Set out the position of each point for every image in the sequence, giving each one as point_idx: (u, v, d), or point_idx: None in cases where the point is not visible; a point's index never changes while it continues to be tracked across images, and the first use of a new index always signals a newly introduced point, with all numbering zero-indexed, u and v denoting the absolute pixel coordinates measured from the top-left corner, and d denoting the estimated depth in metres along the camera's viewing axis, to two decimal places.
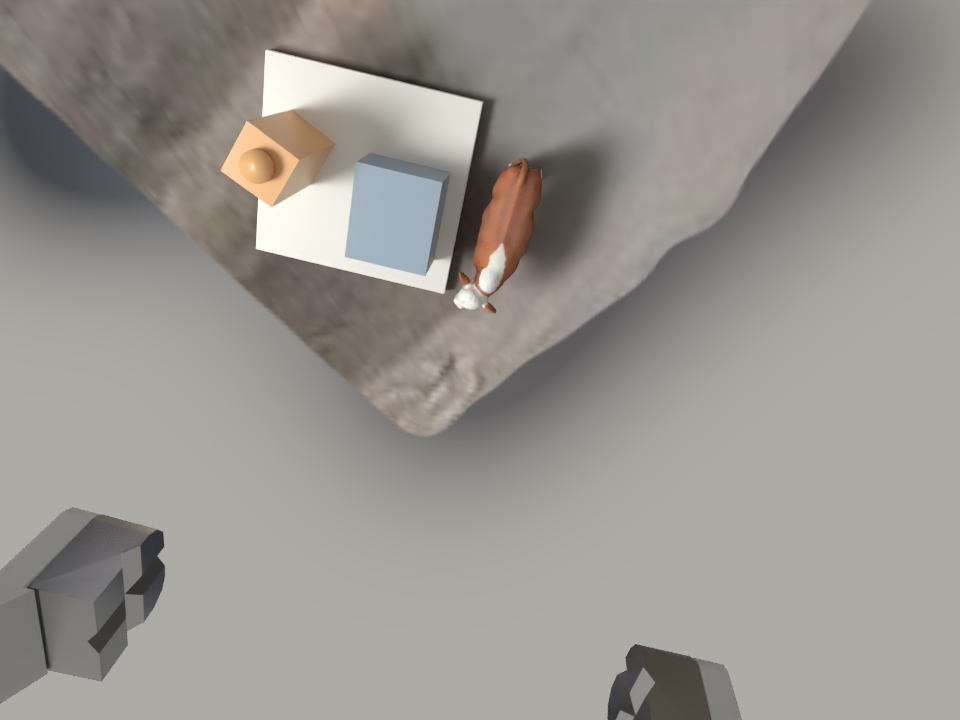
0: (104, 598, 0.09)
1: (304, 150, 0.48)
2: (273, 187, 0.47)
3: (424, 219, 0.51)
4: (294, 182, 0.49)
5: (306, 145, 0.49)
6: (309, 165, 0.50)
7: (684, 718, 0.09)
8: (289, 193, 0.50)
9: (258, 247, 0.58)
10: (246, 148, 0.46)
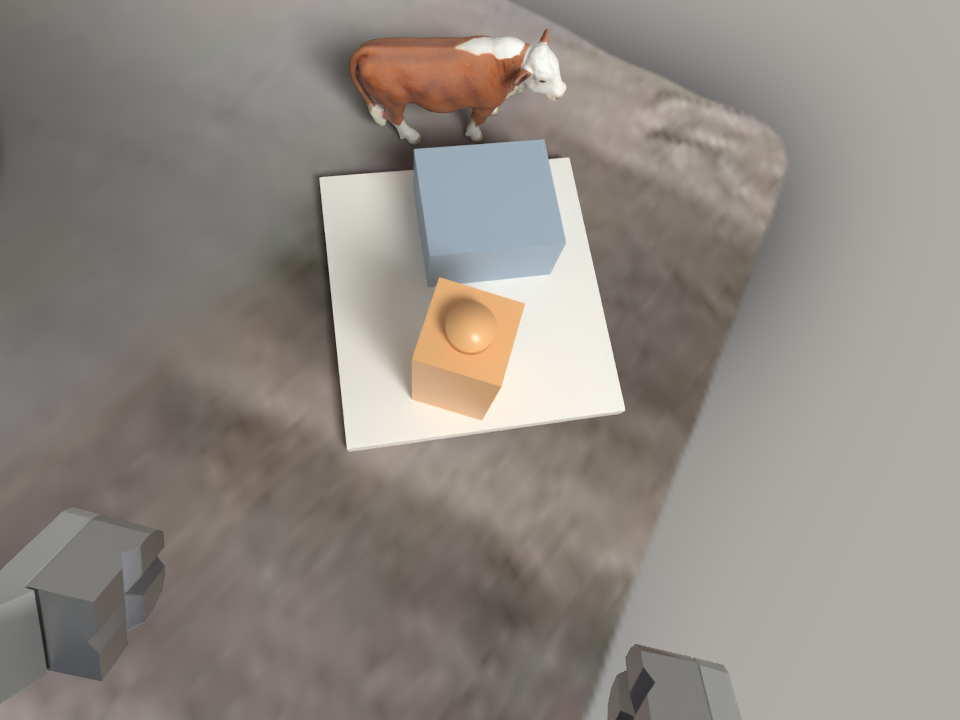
0: (104, 598, 0.09)
1: None
2: (494, 305, 0.31)
3: (469, 157, 0.37)
4: None
5: None
6: None
7: (684, 718, 0.09)
8: None
9: (621, 407, 0.39)
10: (452, 353, 0.30)
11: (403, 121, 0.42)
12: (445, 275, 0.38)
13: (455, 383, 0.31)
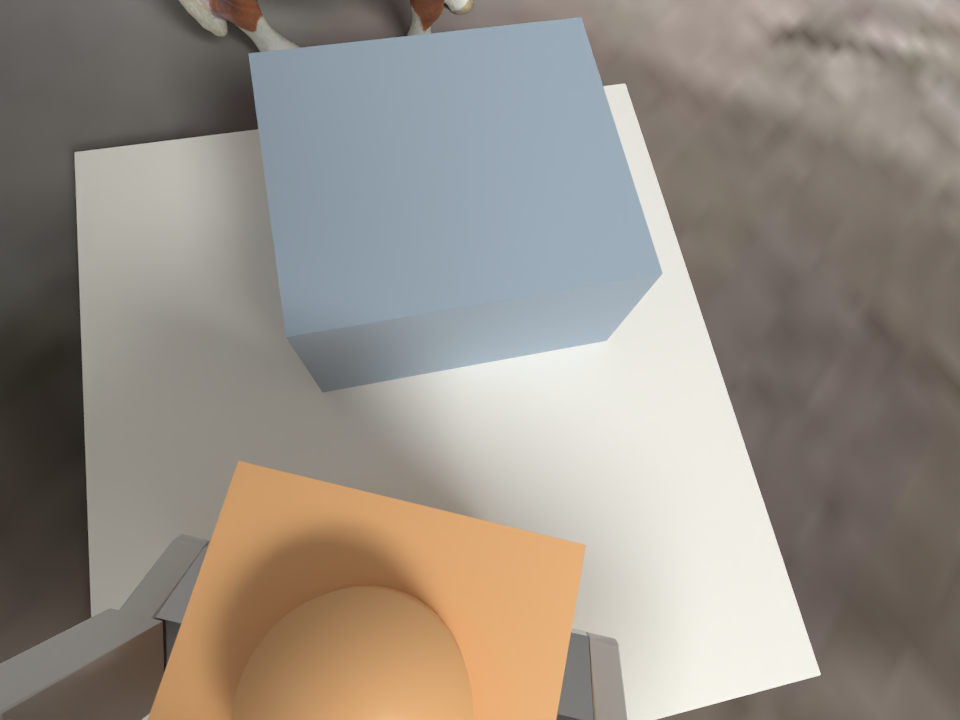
0: None
1: None
2: (461, 567, 0.08)
3: (394, 68, 0.15)
4: None
5: None
6: None
7: (564, 689, 0.09)
8: None
9: (810, 666, 0.16)
10: None
11: (261, 21, 0.19)
12: (354, 369, 0.15)
13: None
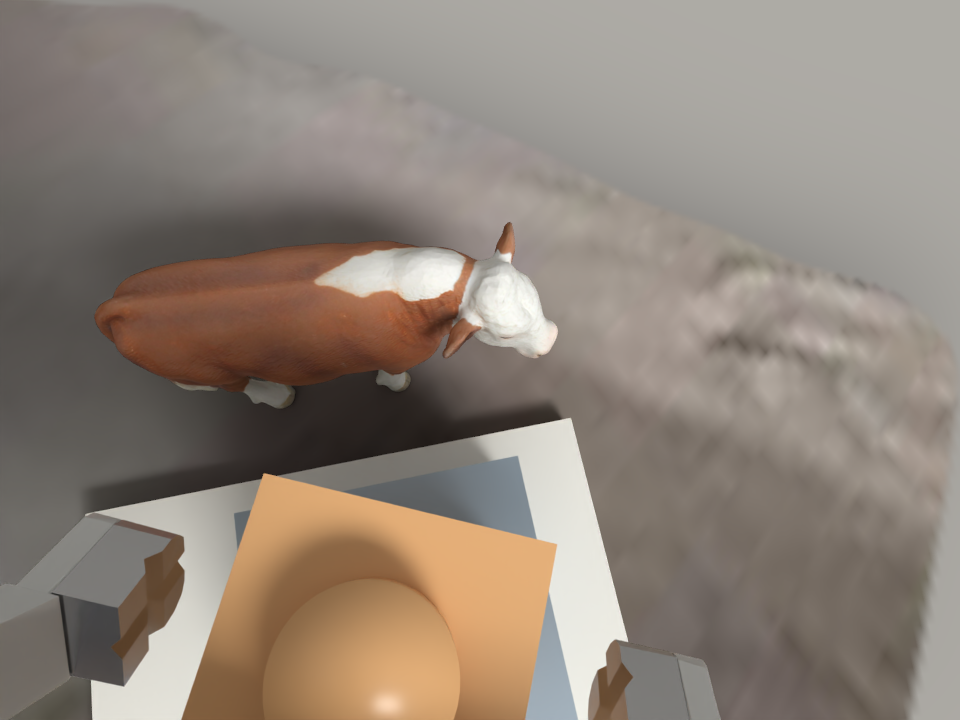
0: (128, 604, 0.09)
1: None
2: (452, 563, 0.09)
3: None
4: None
5: None
6: None
7: (660, 712, 0.09)
8: None
9: None
10: None
11: (248, 385, 0.22)
12: None
13: None
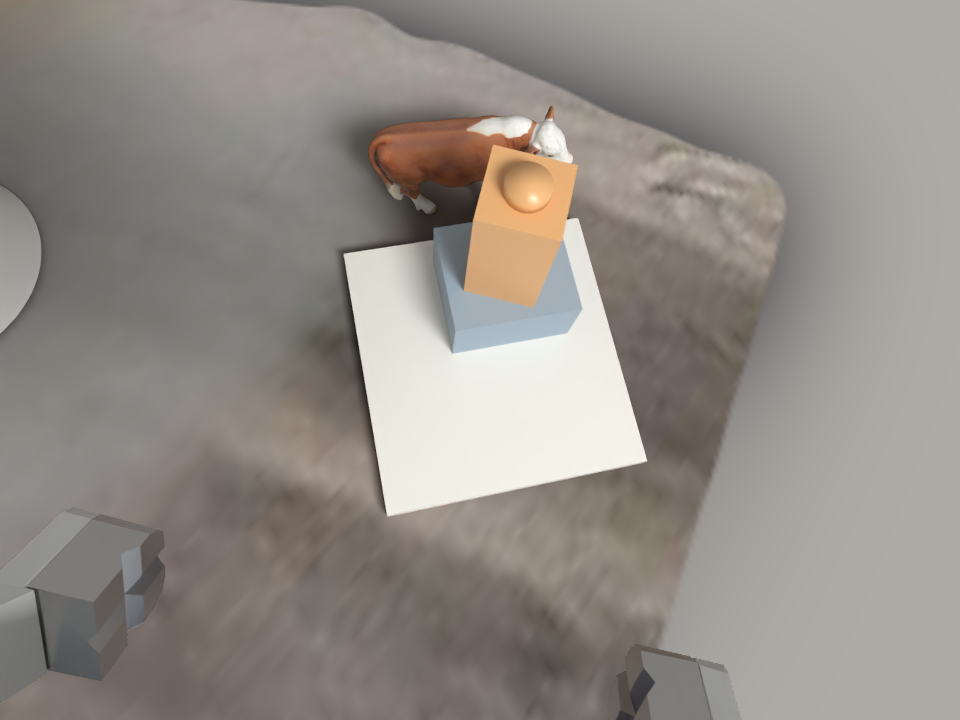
0: (104, 598, 0.09)
1: None
2: (548, 168, 0.31)
3: None
4: None
5: None
6: None
7: (684, 718, 0.09)
8: None
9: (643, 458, 0.41)
10: (512, 212, 0.30)
11: (419, 195, 0.44)
12: (469, 343, 0.41)
13: (514, 249, 0.32)
